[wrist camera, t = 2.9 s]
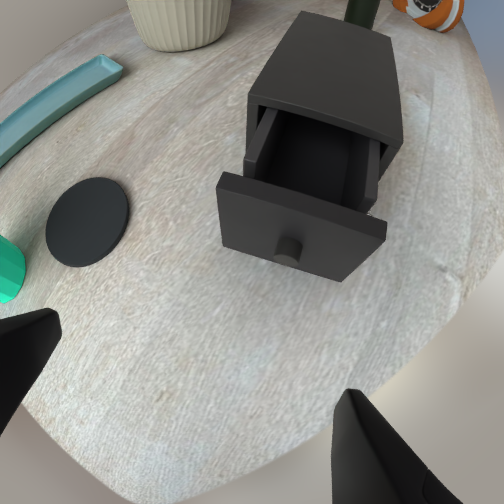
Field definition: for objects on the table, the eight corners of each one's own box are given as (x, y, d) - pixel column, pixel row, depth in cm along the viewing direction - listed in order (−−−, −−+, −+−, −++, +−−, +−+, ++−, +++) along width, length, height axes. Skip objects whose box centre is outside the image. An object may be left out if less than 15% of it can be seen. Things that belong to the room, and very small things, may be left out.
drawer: (337, 297, 21) (383, 261, 14) (217, 260, 22) (206, 206, 15) (363, 125, 28) (387, 70, 21) (282, 100, 29) (291, 41, 22)
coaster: (117, 271, 22) (114, 269, 22) (38, 263, 22) (35, 261, 21) (139, 179, 26) (137, 175, 25) (64, 182, 25) (62, 179, 25)
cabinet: (357, 212, 25) (403, 142, 16) (244, 178, 26) (247, 93, 17) (368, 94, 32) (390, 37, 23) (291, 71, 33) (301, 10, 24)
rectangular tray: (105, 62, 34) (101, 50, 32) (128, 78, 32) (124, 65, 30) (-25, 163, 27) (-34, 154, 25) (-22, 197, 25) (-32, 187, 22)
